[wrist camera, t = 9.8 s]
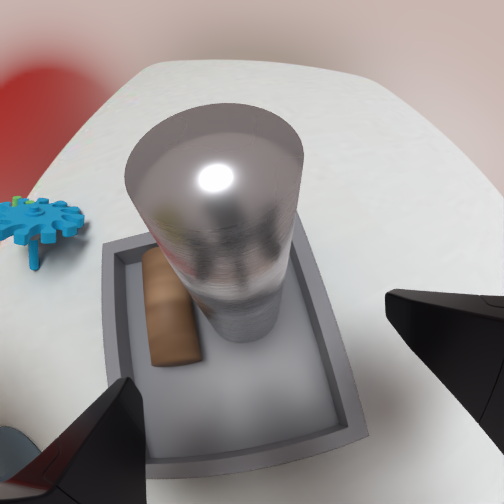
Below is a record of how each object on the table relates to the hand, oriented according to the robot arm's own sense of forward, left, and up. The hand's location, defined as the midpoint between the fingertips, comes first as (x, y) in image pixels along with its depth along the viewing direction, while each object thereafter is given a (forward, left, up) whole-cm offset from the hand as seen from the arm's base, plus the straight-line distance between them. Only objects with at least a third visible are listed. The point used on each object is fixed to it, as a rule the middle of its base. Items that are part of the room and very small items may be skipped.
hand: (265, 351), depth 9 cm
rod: (+5, +6, -8) cm, 11 cm away
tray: (+2, +2, -9) cm, 10 cm away
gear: (+15, +17, -10) cm, 25 cm away
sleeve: (+4, 0, -9) cm, 10 cm away
